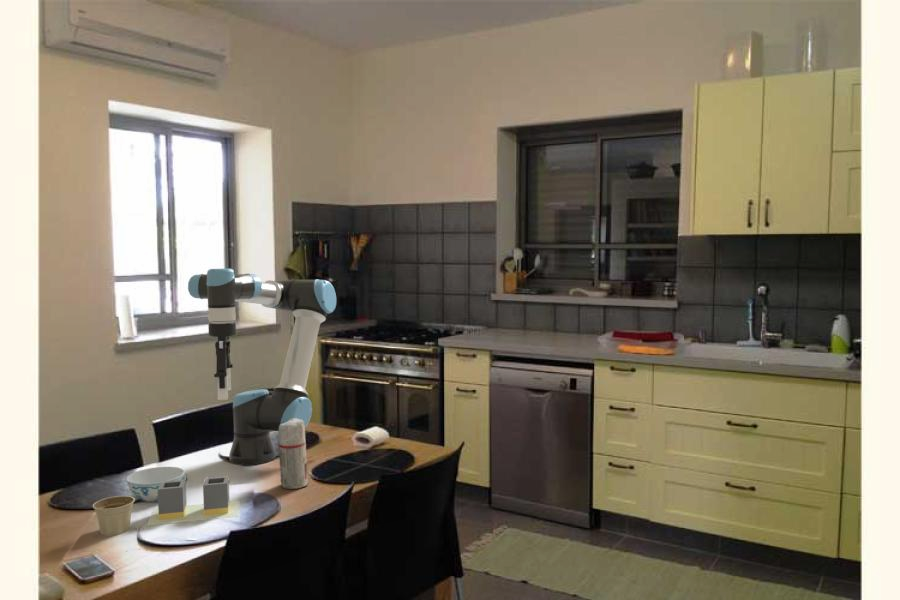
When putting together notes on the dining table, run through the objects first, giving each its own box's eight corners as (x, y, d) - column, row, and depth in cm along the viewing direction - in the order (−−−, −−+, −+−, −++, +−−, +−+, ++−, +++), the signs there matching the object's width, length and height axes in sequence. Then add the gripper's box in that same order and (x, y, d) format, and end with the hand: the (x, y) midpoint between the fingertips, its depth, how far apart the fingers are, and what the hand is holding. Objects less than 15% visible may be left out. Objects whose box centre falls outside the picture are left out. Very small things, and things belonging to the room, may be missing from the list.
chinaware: (129, 515, 185) (127, 487, 185) (126, 498, 199) (125, 471, 198) (188, 505, 192) (187, 478, 192) (182, 489, 206) (181, 463, 205)
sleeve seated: (162, 511, 184) (161, 482, 183) (186, 509, 185) (185, 479, 185) (158, 519, 178) (157, 489, 177) (183, 517, 179) (182, 487, 179)
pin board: (154, 513, 186) (153, 490, 186) (240, 505, 191) (239, 482, 191) (146, 531, 174) (145, 506, 174) (237, 521, 180) (236, 497, 179)
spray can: (301, 491, 203) (299, 423, 201) (275, 489, 204) (273, 422, 203) (312, 481, 211) (311, 416, 210) (287, 480, 213) (285, 416, 211)
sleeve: (206, 507, 186) (205, 478, 186) (229, 505, 188) (228, 476, 187) (204, 515, 181) (202, 485, 180) (228, 513, 182) (227, 483, 181)
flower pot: (103, 529, 176) (102, 496, 175) (141, 527, 177) (140, 494, 176) (87, 544, 167) (85, 509, 166) (128, 543, 168) (126, 508, 167)
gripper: (212, 318, 211) (214, 387, 212) (203, 326, 187) (206, 404, 188) (237, 317, 213) (240, 386, 214) (233, 325, 188) (235, 402, 190)
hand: (224, 394), depth 201 cm, fingers open, 13 cm apart
